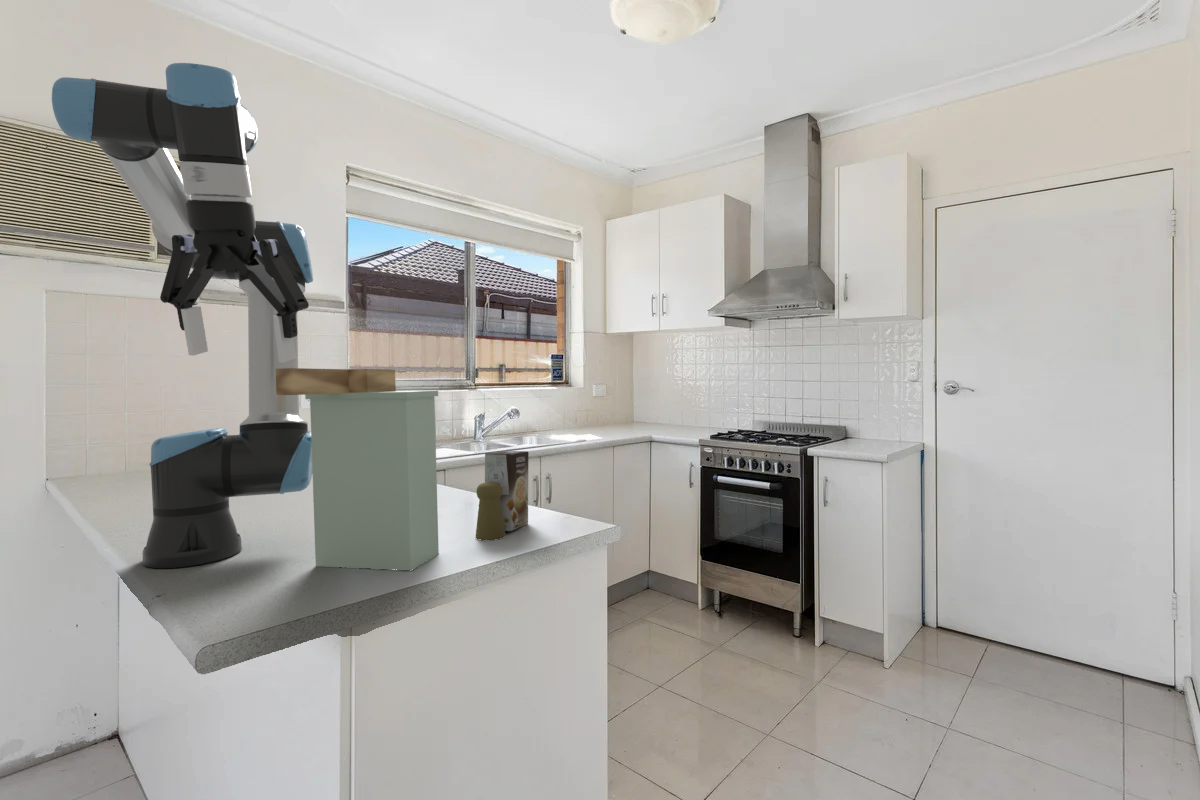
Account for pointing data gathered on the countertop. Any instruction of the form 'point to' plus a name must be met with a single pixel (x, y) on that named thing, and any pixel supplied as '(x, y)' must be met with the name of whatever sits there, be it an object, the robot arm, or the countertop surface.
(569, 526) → the countertop surface
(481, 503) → the cork
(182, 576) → the countertop surface
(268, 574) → the countertop surface
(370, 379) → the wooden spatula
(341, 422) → the sage green shelf box
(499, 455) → the coffee box
